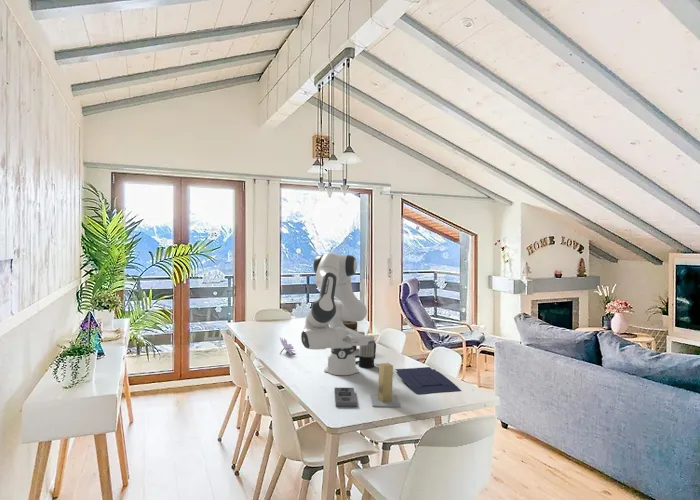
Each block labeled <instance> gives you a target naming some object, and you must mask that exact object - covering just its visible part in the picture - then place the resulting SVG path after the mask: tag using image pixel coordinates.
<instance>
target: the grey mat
mask: <svg viewBox="0 0 700 500" xmlns="http://www.w3.org/2000/svg"><path fill="white" fill-rule="evenodd" d="M370 398H371V405H372V407H373V408H401V404H400V401H399V398H398V395H397V394H396V395H393V394H392V401H390V402H382V401H380V400H379V399H378V394H370Z"/></svg>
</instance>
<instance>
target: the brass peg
mask: <svg viewBox="0 0 700 500" xmlns="http://www.w3.org/2000/svg"><path fill="white" fill-rule="evenodd" d="M378 365H379V366H378V390H377V391H378V394H377V395H378V399H379V400H380V401H382V402H390V401H392V395H393V378H394V375H393V373H394V365H393V364H391V363H389V362H384V363H383V362H382V363H379V364H378Z"/></svg>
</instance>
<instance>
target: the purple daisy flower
mask: <svg viewBox="0 0 700 500" xmlns="http://www.w3.org/2000/svg"><path fill="white" fill-rule="evenodd" d="M279 340H280V343H281V345H282V346H283V348H282V350H281V351H280V353H279V354H280V355H281V354H282V352H283V351H284V350H285V352H288V353H291V354H293V355H295V353H294V352H295V350H294V349H295V348H294V346H292V344H291V343H288V341H287V339H286V338H283V337H279Z"/></svg>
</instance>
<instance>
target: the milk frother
mask: <svg viewBox="0 0 700 500" xmlns="http://www.w3.org/2000/svg"><path fill="white" fill-rule="evenodd" d="M358 349H359V353H358V355H354V356H355V358H356V359H358V360H357V361H356V364H358V367H360V368H364V369H372V368H374V367H375V360H376V353H377V343H376V341H375V339H374V340H373V341H369V342H368V345H366V346H359V348H358Z"/></svg>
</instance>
